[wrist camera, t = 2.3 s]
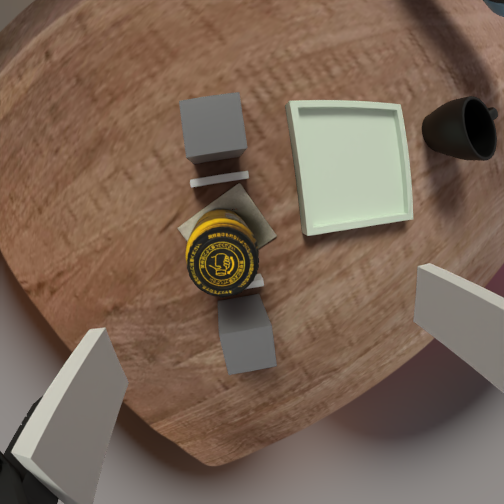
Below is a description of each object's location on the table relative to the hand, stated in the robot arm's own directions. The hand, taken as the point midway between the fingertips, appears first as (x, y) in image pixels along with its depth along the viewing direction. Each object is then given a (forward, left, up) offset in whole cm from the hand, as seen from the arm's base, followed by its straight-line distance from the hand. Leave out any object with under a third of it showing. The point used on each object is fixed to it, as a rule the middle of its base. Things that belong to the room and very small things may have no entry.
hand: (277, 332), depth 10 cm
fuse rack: (0, -1, -22) cm, 22 cm away
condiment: (0, -1, -22) cm, 22 cm away
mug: (-11, +32, -22) cm, 41 cm away
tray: (-6, +15, -22) cm, 27 cm away
